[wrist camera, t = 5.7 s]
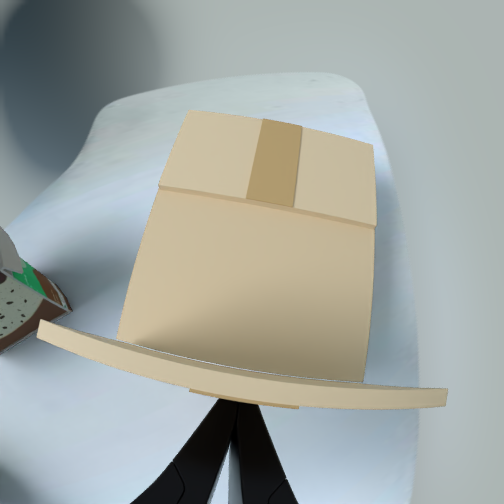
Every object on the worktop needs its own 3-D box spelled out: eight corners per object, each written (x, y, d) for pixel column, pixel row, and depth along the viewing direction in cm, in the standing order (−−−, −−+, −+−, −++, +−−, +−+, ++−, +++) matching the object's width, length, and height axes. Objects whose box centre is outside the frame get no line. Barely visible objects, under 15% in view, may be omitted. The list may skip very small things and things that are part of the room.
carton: (326, 375, 18) (368, 382, 12) (148, 344, 18) (111, 337, 12) (343, 193, 23) (374, 143, 17) (196, 166, 23) (187, 107, 17)
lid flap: (355, 382, 12) (353, 394, 12) (124, 342, 12) (121, 354, 12) (447, 388, 6) (444, 408, 6) (40, 318, 6) (35, 339, 6)
